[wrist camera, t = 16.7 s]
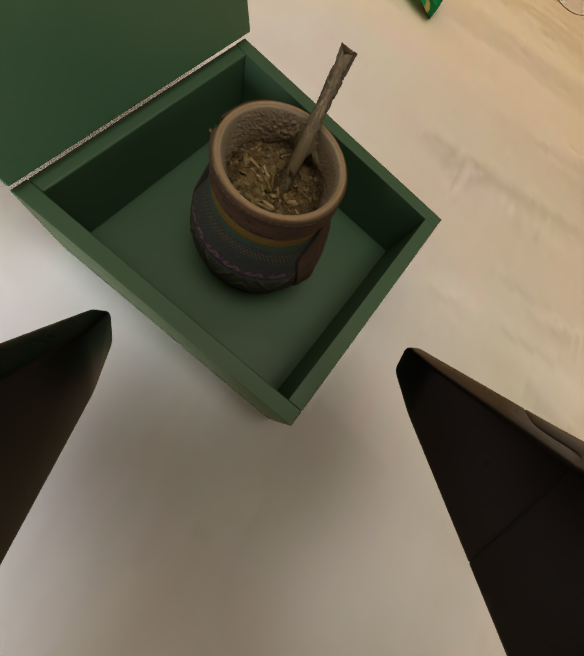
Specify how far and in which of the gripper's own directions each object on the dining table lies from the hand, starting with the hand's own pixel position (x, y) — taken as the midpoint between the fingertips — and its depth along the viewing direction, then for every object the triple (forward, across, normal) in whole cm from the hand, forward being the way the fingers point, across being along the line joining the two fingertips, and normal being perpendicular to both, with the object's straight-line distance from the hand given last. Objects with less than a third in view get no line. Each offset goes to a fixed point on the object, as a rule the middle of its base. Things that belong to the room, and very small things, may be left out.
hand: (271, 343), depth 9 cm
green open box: (+12, 0, +1) cm, 12 cm away
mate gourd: (+12, 0, +1) cm, 12 cm away
